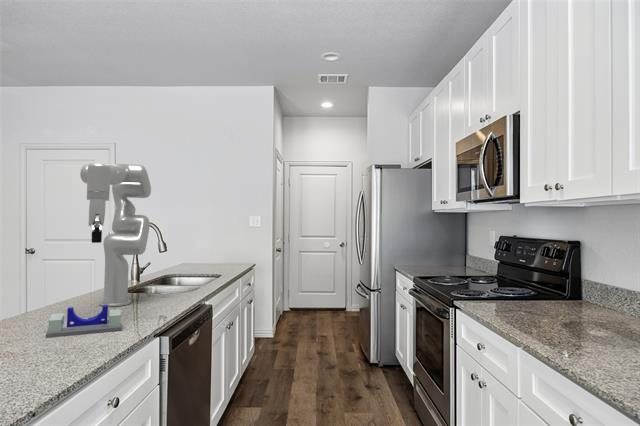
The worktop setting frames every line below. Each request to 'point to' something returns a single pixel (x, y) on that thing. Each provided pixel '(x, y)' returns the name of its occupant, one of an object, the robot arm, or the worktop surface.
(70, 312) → the cable clip
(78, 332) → the board
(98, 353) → the worktop surface
